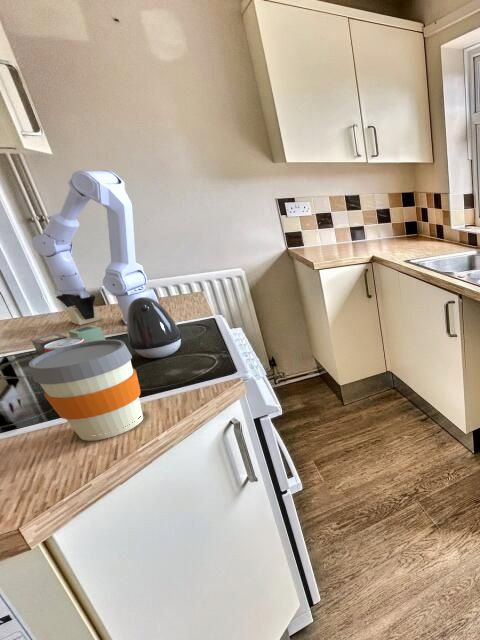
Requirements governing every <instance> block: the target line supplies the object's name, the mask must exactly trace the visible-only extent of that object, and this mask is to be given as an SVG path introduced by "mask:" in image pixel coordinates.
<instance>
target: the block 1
mask: <svg viewBox="0 0 480 640" xmlns="http://www.w3.org/2000/svg"><path fill="white" fill-rule="evenodd" d="M66 338H68V337H67V335H64V334H61V333H54V334H50V335H47V336H46V335H45V336H43V337H39V338H35V339H31V343H32V345H33V347H34V349H35V351H36V354H37V355H38V356H40V355H42V354H44V352H45V348H44V346H45V345H46V344H48V343H51V342H54V341H57V340H61V339H66Z"/></svg>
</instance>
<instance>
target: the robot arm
mask: <svg viewBox="0 0 480 640" xmlns="http://www.w3.org/2000/svg"><path fill="white" fill-rule="evenodd" d="M67 184H68V186H69V190H68V192H67V195H66V197H65V198H64V199H65V200H64V202H63V205H62V206H61V207H62V208H60V212H57V213H56V212H55V213H53V214H50V215H49V216H48V218H47V219H48V220H49V221H48V222H47V224H46V226H45V228H44V229H42V232H41V233H40V234H39V235H35V236H33V237H32V241H31V245H32V248H33V250H34V251H35V252H36V253H38V254H39V255H41V256H43V258H44V260H45V263H46V265H47V267H48V270H49V272H50V274H51V276H52V278H53V280H54V283H55V285H56V288H57V290H56V291H53V294H54V295H57V296H55V298H56V299H57V300H58V301H60V302H61V303H62V304H63V305H64V306H65V308H66V307H71V306H76V307H77V309H78V310H79V311H80V313H81V315H82V316H83V317H84V319H86V320H87V319H91V318H94V307H95V300H96V295H93V294H90V292H89V290H88V289H87V287H86V286H85V284H84V282H83V279H82V277H81V275H80V272H79V270H78V267H77V265H76V263H75V260H74V253H73V248H74V243H73V242H72V240H73V238H74V236H75V235H76V233H77V231H78V229H79V227H80V221H78V218H79V216H80V215H81V213H82V212H83V211H84V209H85V207H86V206H87V204H88V203H89V202H90V200H92V201H94V202H96V203H97V204H100V205H101V206H103V207H104V208H105V209H106V217H107V228H108V229H107V230H108V239H109V252H110V262H109V264H108V265H107V267H106V268H105V271H104V272H105V274H104V276H103V278H102V285H103V287H104V288H105V290H106V291H107V292H109V293H110V294H112V295H113V296H115V298H116V301H117V304H118V307H119V309H120V311H121V314H122V316H123V317H122V318H121V319H122V321H123V323H124V324H125V325H126V326H127V313H128V308H129V306H130V304H131V302H132V301H133V300H135V299H137V298H141V297H147V298H151V299H153V300H155V301H156V302H158V303H159V300H158V298H157V295H156V293H155V291H154V289H153V288H148V289H146V285H147V283H148V277H147V275H146V273H145V271H144V266H143V265H141V264H140V263H138V262H136V261H137V260H136V259H137V258H136V243H135V230H134V229H135V228H134V214H133V205H132V201H131V199H130V198H129V196H128V195H129V194H128V193H127V192H126V185H125V184H126V183H125V181H124V180H123V179H122V178H121V177H119V176H118V175H117V174H116V173H115V172H113V171H111V170H106V169H105V170H87V171H86V170H77V171H74V172H73V173H72V175H71V176H70V179H69V180H68V181H67Z"/></svg>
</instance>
